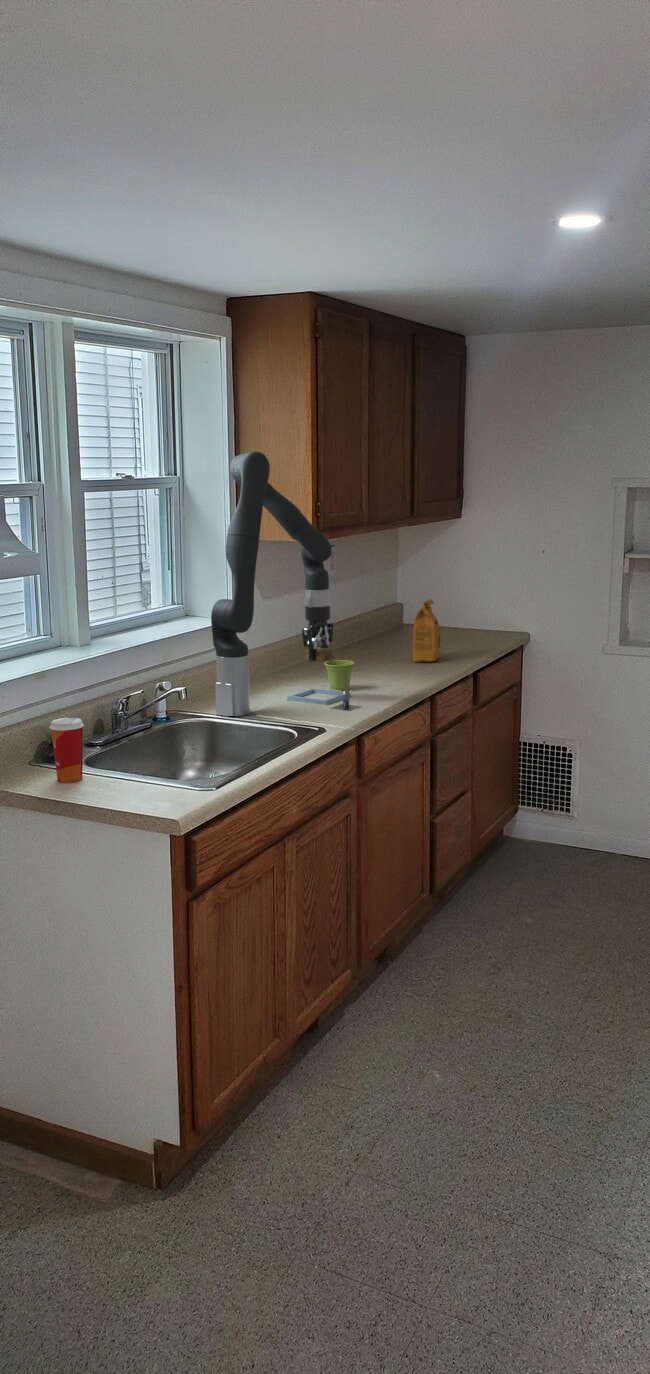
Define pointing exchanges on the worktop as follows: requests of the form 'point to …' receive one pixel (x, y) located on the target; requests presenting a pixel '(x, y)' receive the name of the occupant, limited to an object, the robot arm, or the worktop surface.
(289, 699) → the tray
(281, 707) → the worktop surface
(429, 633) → the coffee package
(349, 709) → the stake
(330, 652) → the brown hollow rectangular frame
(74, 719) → the paper cup
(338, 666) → the plant pot
